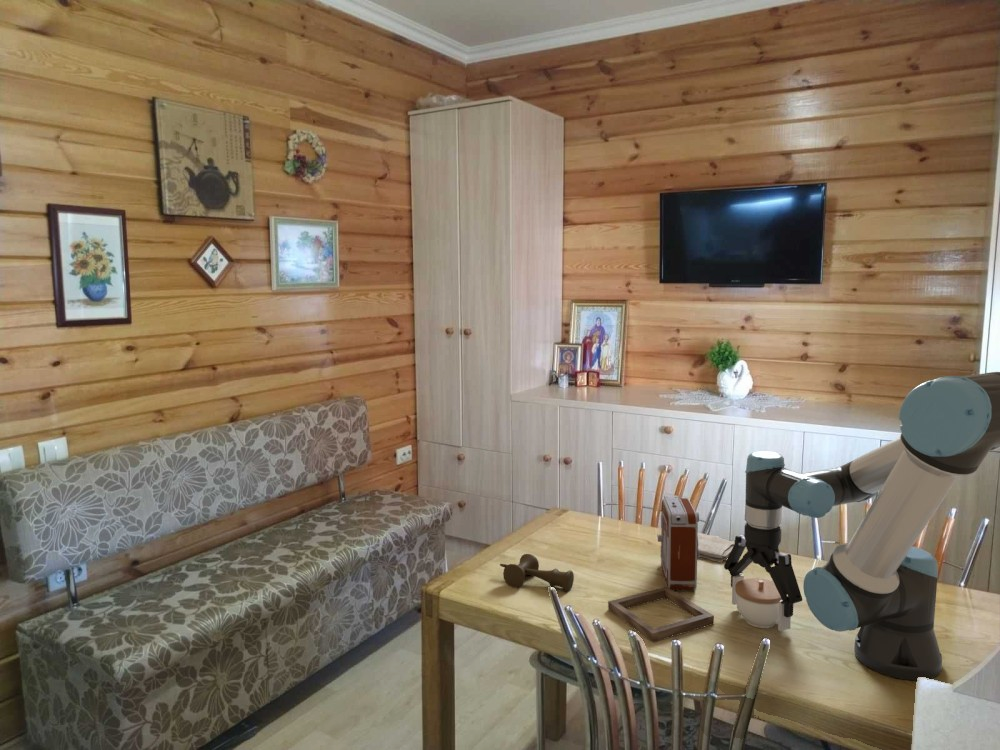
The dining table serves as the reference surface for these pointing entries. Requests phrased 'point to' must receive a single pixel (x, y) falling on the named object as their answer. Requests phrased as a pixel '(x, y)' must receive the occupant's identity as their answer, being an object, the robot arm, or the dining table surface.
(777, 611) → the lidded jar
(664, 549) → the cine camera
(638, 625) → the brown wooden tray
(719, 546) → the washcloth
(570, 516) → the dining table surface
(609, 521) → the dining table surface
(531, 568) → the kendama
